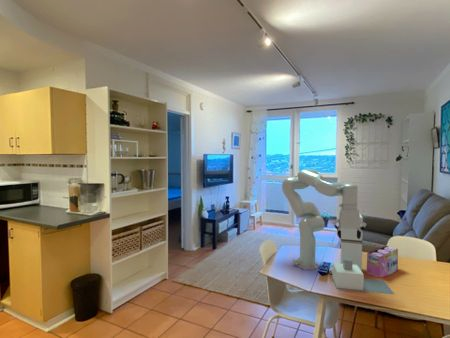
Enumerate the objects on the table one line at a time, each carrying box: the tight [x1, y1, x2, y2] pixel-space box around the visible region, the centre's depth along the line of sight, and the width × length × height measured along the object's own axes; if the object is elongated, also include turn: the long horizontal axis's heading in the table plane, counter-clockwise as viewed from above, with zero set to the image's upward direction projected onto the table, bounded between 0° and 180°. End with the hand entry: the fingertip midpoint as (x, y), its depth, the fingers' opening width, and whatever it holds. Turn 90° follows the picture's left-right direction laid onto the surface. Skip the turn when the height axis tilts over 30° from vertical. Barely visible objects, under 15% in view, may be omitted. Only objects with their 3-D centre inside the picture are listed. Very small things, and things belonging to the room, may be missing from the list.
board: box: [331, 275, 395, 295], centre depth 150 cm, size 28×16×1 cm, turn 79°
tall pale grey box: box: [339, 214, 364, 272], centre depth 169 cm, size 11×11×35 cm
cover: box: [331, 258, 365, 290], centre depth 151 cm, size 13×13×13 cm
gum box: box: [366, 245, 399, 278], centre depth 168 cm, size 24×8×14 cm, turn 124°
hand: (348, 237), depth 151 cm, fingers open, 9 cm apart
